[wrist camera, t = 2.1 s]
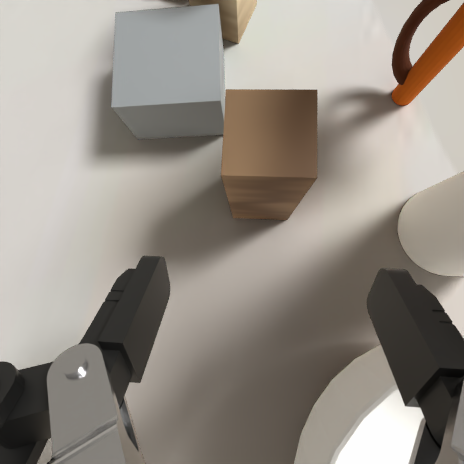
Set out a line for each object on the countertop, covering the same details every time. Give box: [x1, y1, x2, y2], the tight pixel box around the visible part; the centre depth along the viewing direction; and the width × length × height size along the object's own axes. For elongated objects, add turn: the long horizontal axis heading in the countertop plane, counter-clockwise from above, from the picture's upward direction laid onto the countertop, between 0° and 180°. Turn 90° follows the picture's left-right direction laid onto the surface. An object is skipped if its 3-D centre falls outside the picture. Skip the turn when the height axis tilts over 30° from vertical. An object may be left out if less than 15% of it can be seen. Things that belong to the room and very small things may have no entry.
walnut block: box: [221, 90, 317, 220], centre depth 18 cm, size 4×4×10 cm
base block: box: [111, 4, 225, 140], centre depth 22 cm, size 8×8×5 cm
